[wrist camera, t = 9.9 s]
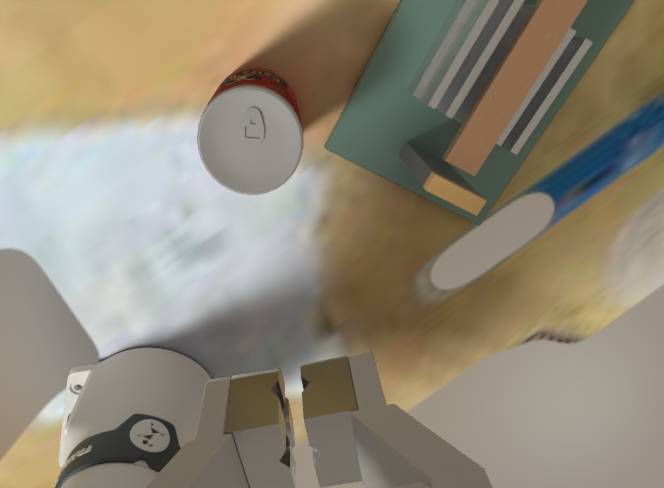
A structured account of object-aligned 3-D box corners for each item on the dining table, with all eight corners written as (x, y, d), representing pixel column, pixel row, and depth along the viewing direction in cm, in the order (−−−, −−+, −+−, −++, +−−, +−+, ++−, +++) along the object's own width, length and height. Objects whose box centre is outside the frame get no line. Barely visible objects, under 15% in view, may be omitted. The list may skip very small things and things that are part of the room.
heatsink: (493, 139, 49) (520, 157, 43) (405, 89, 46) (422, 102, 41) (559, 39, 45) (597, 45, 40) (468, -21, 42) (496, -23, 37)
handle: (468, 170, 43) (474, 176, 42) (439, 155, 42) (444, 160, 41) (593, -27, 38) (605, -29, 36) (562, -49, 37) (574, -52, 36)
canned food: (289, 58, 45) (293, 76, 35) (305, 147, 48) (312, 186, 39) (202, 73, 45) (181, 96, 35) (225, 161, 48) (212, 204, 38)
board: (476, 221, 54) (520, 271, 44) (324, 145, 48) (336, 183, 39) (629, -4, 45) (725, -3, 36) (465, -124, 40) (525, -161, 31)
